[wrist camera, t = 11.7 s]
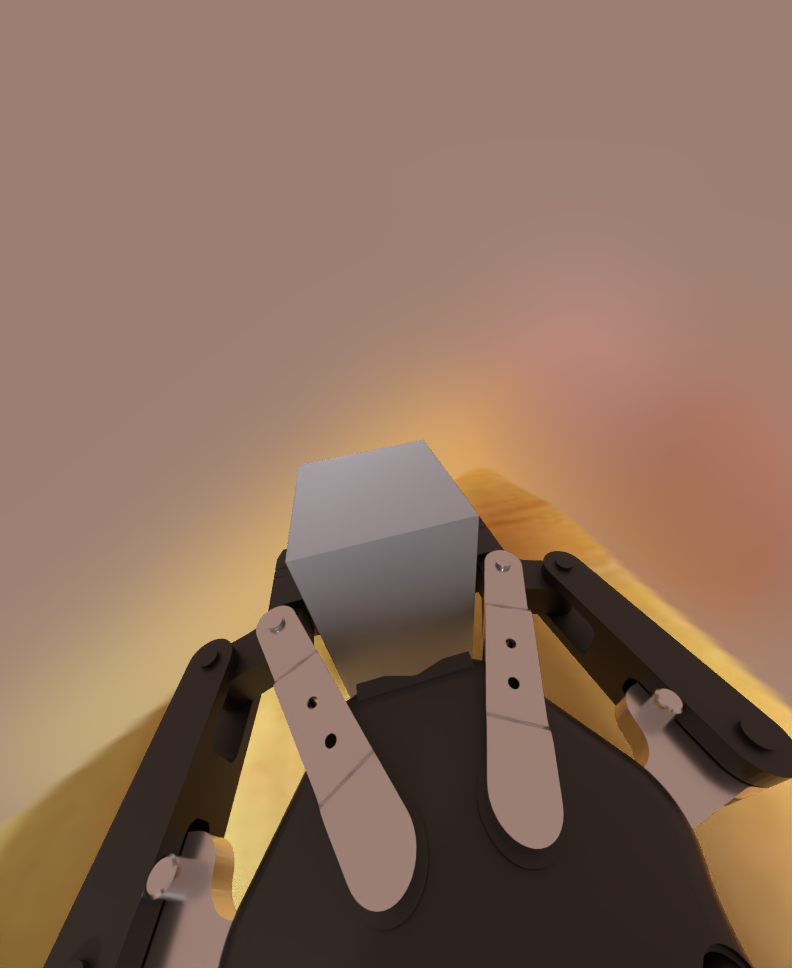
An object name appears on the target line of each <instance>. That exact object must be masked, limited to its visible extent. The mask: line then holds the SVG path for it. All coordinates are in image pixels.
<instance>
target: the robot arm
mask: <svg viewBox="0 0 792 968" xmlns="http://www.w3.org/2000/svg"><path fill="white" fill-rule="evenodd" d="M286 553H287V549H285V550H283V551H282V553H281V554H280V556H279V557H278V559H277V564H276V569H275V570H276V572H275V576H274V581H273V587H272V593H271V599H270V605H269V610H268V612H267V613H266V614H265V615H264V616H263V617H262V618H261V619H260V621H259V623H258V625H257V628H256V629H255V630H253V631H252V632H250V633H249V634H247V635H245V636H243V637H242V638H240V639H238V640H236V641H235V642H233V643H230V642H229V641H228V640H226V639H217V640H213V641H211V642H209V643H207V644H206V645H204V646H203V647H202V648H200V649H199V650H198V651H197V653H196V654H195V655H194V656H193V657H192V659H191V661H190V662H189V664H188V667H187V668H186V671H185V673H184V675H183V677H182V679H181V681H180V683H179V685H178V687H177V689H176V691H175V694H174V696H173V698H172V700H171V702H170V704H169V706H168V708H167V710H166V712H165V714H164V716H163V719H162V721H161V723H160V725H159V727H158V729H157V731H156V733H155V735H154V737H153V739H152V742H151V744H150V746H149V748H148V750H147V752H146V754H145V756H144V758H143V760H142V762H141V764H140V767H139V769H138V771H137V773H136V775H135V777H134V779H133V781H132V783H131V785H130V787H129V790H128V792H127V794H126V796H125V798H124V800H123V802H122V804H121V806H120V808H119V810H118V812H117V815H116V817H115V819H114V821H113V823H112V825H111V827H110V829H109V831H108V833H107V835H106V838H105V840H104V842H103V844H102V846H101V848H100V850H99V852H98V854H97V856H96V858H95V860H94V863H93V865H92V867H91V869H90V871H89V873H88V875H87V877H86V879H85V881H84V883H83V885H82V888H81V890H80V892H79V894H78V896H77V898H76V900H75V902H74V904H73V906H72V908H71V911H70V913H69V915H68V917H67V919H66V921H65V923H64V925H63V927H62V929H61V931H60V933H59V936H58V938H57V940H56V942H55V944H54V946H53V948H52V950H51V952H50V954H49V956H48V959H47V961H46V963H45V965H44V967H43V968H754V967H753V965H752V963H751V962H750V960H749V958H748V957H747V955H746V953H745V951H744V949H743V948H742V946H741V944H740V942H739V940H738V938H737V936H736V934H735V932H734V930H733V928H732V926H731V924H730V922H729V920H728V918H727V916H726V914H725V911H724V909H723V907H722V905H721V902H720V900H719V898H718V895H717V893H716V890H715V888H714V885H713V882H712V880H711V877H710V874H709V871H708V868H707V865H706V861H705V858H704V856H703V853H702V850H701V847H700V844H699V842H698V840H697V837H696V835H695V833H694V831H693V829H694V828H695V827H697V826H698V825H699V824H700V823H702V822H703V821H704V820H706V819H707V818H708V817H710V816H711V815H712V814H714V813H715V812H716V811H718V810H719V809H720V808H721V807H723V806H726V805H729V804H732V803H734V802H736V801H739V800H741V799H743V798H746V797H748V796H751V795H753V794H755V793H758V792H760V791H762V790H765V789H767V788H769V787H772V786H774V785H777V784H779V783H781V782H784V781H786V780H788V779H791V778H792V739H791V738H790V737H789V736H788V735H787V733H786V732H785V731H784V730H783V729H782V728H781V727H780V726H779V725H777V724H776V723H775V722H774V721H773V720H772V719H770V718H769V717H768V716H767V715H766V714H764V713H763V712H762V711H761V710H760V709H758V708H757V707H756V706H755V705H754V704H752V703H751V702H750V701H749V700H748V699H746V698H745V697H744V696H743V695H742V694H740V693H739V692H738V691H737V690H736V689H734V688H733V687H732V686H731V685H730V684H728V683H727V682H726V681H725V680H723V679H722V678H721V677H720V676H719V675H717V674H716V673H715V672H714V671H713V670H711V669H710V668H709V667H708V666H707V665H705V664H704V663H703V662H702V661H701V660H699V659H698V658H697V657H696V656H695V655H693V654H692V653H691V652H690V651H689V650H687V649H686V648H685V647H684V646H683V645H681V644H680V643H679V642H678V641H677V640H675V639H674V638H673V637H672V636H670V635H669V634H668V633H667V632H666V631H664V630H663V629H662V628H661V627H660V626H658V625H657V624H656V623H655V622H654V621H652V620H651V619H650V618H649V617H648V616H646V615H645V614H644V613H643V612H642V611H640V610H639V609H638V608H637V607H636V606H634V605H633V604H632V603H631V602H630V601H628V600H627V599H626V598H625V597H624V596H622V595H621V594H620V593H619V592H618V591H616V590H615V589H614V588H613V587H611V586H610V585H609V584H608V583H607V582H605V581H604V580H603V579H602V578H601V577H599V576H598V575H597V574H596V573H595V572H593V571H592V570H591V569H590V568H589V567H587V566H586V565H585V564H584V563H583V562H581V561H580V560H579V559H578V558H576V557H575V556H573V555H571V554H569V553H566V552H561V551H554V552H550V553H548V554H547V555H545V557H544V560H543V561H532V560H521V559H519V558H518V557H517V556H515V555H514V554H512V553H510V552H508V551H504V550H503V548H502V547H501V545H500V544H499V543H498V541H497V540H496V539H495V537H494V536H493V535H492V533H491V532H490V530H489V529H488V528H487V527H486V525H485V524H484V522H483V521H482V519H481V518H480V517H479V524H478V544H477V564H476V583H475V593H476V592H479V594H480V596H481V597H482V602H481V660H476V659H472V658H471V656H470V653H469V651H467V652H463V653H460V654H457V655H453V656H450V657H447V658H443V659H441V660H439V661H438V662H436V663H435V664H433V665H432V666H430V667H429V668H427V669H425V670H424V671H422V672H421V673H419V674H417V675H415V676H383V677H379V678H376V679H372V680H369V681H366V682H362V683H359V684H356V690H357V694H356V695H354V696H353V697H351V698H350V699H349V700H348V701H345V700H344V698H343V696H342V694H341V692H340V691H339V689H338V687H337V685H336V684H335V682H334V680H333V678H332V677H331V675H330V673H329V671H328V669H327V668H326V666H325V664H324V662H323V661H322V659H321V657H320V655H319V653H318V652H317V650H316V649H315V647H314V636H316V635H319V634H320V633H319V631H318V629H317V627H316V625H315V623H314V621H313V619H312V616H311V614H310V612H309V610H308V608H307V606H306V604H305V602H304V600H303V598H302V596H301V594H300V591H299V589H298V587H297V585H296V583H295V581H294V579H293V577H292V575H291V573H290V571H289V569H288V566H287V564H286V562H285V560H286ZM532 614H538V615H539V616H540V617H541V619H542V620H543V621H544V622H545V623H546V624H547V626H548V627H549V628H550V629H551V630H552V632H553V633H554V634H555V635H556V636H557V637H558V639H559V640H560V641H561V642H562V643H563V644H564V646H565V647H566V648H567V649H568V650H569V651H570V653H571V654H572V655H573V656H574V657H575V658H576V660H577V661H578V662H579V663H580V664H581V665H582V667H583V668H584V669H585V670H586V671H587V672H588V674H589V675H590V676H591V677H592V678H593V679H594V681H595V682H596V683H597V684H598V685H599V686H600V688H601V689H602V690H603V691H604V692H605V693H606V695H607V696H608V697H609V698H610V699H611V700H612V702H613V703H614V704H615V705H616V708H615V717H616V721H617V724H618V726H619V728H620V730H621V732H622V733H623V735H624V736H625V738H626V739H627V741H628V742H629V744H630V746H631V748H632V751H633V754H634V758H635V760H633V759H632V758H631V757H629V756H628V755H626V754H625V753H624V752H622V751H621V750H619V749H618V748H616V747H615V746H614V745H612V744H611V743H609V742H608V741H606V740H605V739H604V738H602V737H601V736H599V735H598V734H597V733H595V732H594V731H592V730H591V729H589V728H588V727H587V726H585V725H584V724H582V723H581V722H580V721H578V720H577V719H575V718H574V717H572V716H571V715H570V714H568V713H567V712H565V711H564V710H562V709H561V708H560V707H558V706H557V705H555V704H554V703H553V702H551V701H550V700H548V699H547V698H545V697H544V693H543V686H542V679H541V672H540V665H539V658H538V651H537V644H536V637H535V630H534V623H533V616H532ZM273 686H274V689H275V692H276V694H277V697H278V699H279V702H280V705H281V707H282V710H283V712H284V715H285V718H286V720H287V723H288V725H289V728H290V730H291V733H292V736H293V738H294V741H295V743H296V746H297V749H298V751H299V754H300V756H301V759H302V761H303V764H304V767H305V769H306V771H305V773H304V775H303V777H302V779H301V781H300V783H299V785H298V787H297V789H296V791H295V793H294V795H293V798H292V800H291V802H290V804H289V806H288V808H287V810H286V812H285V814H284V816H283V818H282V820H281V822H280V824H279V826H278V828H277V830H276V832H275V834H274V836H273V838H272V840H271V842H270V844H269V846H268V848H267V850H266V852H265V854H264V857H263V859H262V861H261V863H260V865H259V867H258V869H257V871H256V873H255V875H254V877H253V879H252V881H251V883H250V885H249V887H248V889H247V891H246V893H245V895H244V897H243V899H242V901H241V903H240V905H239V907H238V910H237V911H236V908H235V906H234V903H233V899H232V880H233V872H234V852H233V848H232V846H231V844H230V843H229V842H228V841H227V840H226V839H224V835H225V832H226V828H227V824H228V820H229V816H230V812H231V809H232V805H233V801H234V797H235V793H236V790H237V786H238V782H239V778H240V774H241V770H242V767H243V763H244V759H245V755H246V751H247V748H248V744H249V740H250V736H251V732H252V728H253V725H254V721H255V717H256V713H257V709H258V705H259V702H260V698H261V694H262V693H264V692H265V691H267V690H268V689H270V688H272V687H273Z"/></svg>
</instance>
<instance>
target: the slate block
mask: <svg viewBox="0 0 792 968" xmlns="http://www.w3.org/2000/svg"><path fill="white" fill-rule="evenodd" d="M478 524H479V515H478V513H477V512H476V511H475V509H474V508H473V506H472V505H471V504H470V502H469V501H468V500H467V498H466V497H465V496H464V494H463V493H462V491H461V490H460V489H459V487H458V486H457V485H456V483H455V482H454V481H453V479H452V478H451V476H450V475H449V474H448V472H447V471H446V470H445V468H444V467H443V466H442V464H441V463H440V461H439V460H438V459H437V458H436V456H435V455H434V453H433V452H432V451H431V449H430V448H429V446H428V445H427V444H426V443H425V441H424V440H420V441H415V442H411V443H405V444H401V445H396V446H391V447H386V448H381V449H376V450H371V451H367V452H361V453H356V454H352V455H347V456H342V457H338V458H333V459H327V460H322V461H317V462H313V463H308V464H303V465H299V466H298V474H297V481H296V488H295V496H294V503H293V510H292V518H291V525H290V532H289V539H288V546H287V553H286V560H285V562H286V564H287V566H288V569H289V571H290V573H291V575H292V577H293V579H294V581H295V583H296V585H297V587H298V589H299V591H300V594H301V596H302V598H303V600H304V602H305V604H306V606H307V608H308V610H309V612H310V614H311V616H312V619H313V621H314V623H315V625H316V627H317V629H318V631H319V633H320V635H321V637H322V639H323V641H324V644H325V646H326V648H327V650H328V652H329V654H330V656H331V658H332V660H333V662H334V664H335V666H336V669H337V671H338V673H339V675H340V677H341V679H342V681H343V683H344V685H345V687H346V689H347V691H348V694H349V696H350V698H351V697H353V696H354V695H356V694H357V690H356V684H359V683H362V682H366V681H369V680H372V679H376V678H379V677H383V676H415V675H417V674H419V673H421V672H422V671H424V670H425V669H427V668H429V667H430V666H432V665H433V664H435V663H436V662H438V661H439V660H441V659H443V658H447V657H450V656H453V655H457V654H460V653H463V652H467V651H469V653H470V656H471V658H472V642H473V623H474V603H475V583H476V564H477V544H478Z"/></svg>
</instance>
